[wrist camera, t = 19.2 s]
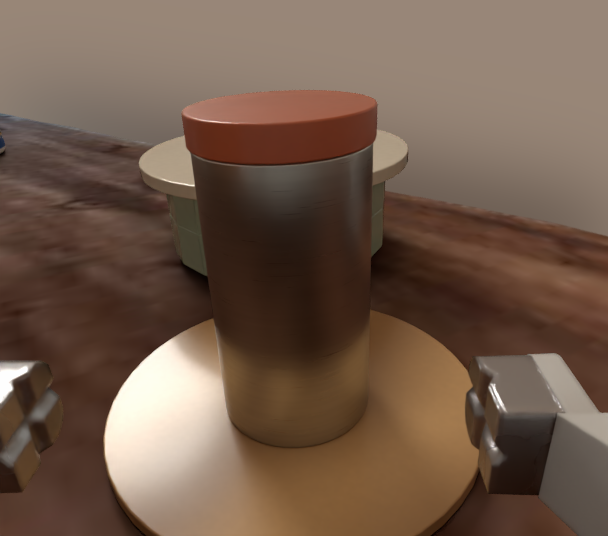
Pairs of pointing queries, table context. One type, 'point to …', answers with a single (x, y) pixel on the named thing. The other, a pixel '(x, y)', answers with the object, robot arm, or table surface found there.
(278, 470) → the mat
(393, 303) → the table surface
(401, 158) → the plate
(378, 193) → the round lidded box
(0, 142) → the beverage bottle
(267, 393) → the tin
